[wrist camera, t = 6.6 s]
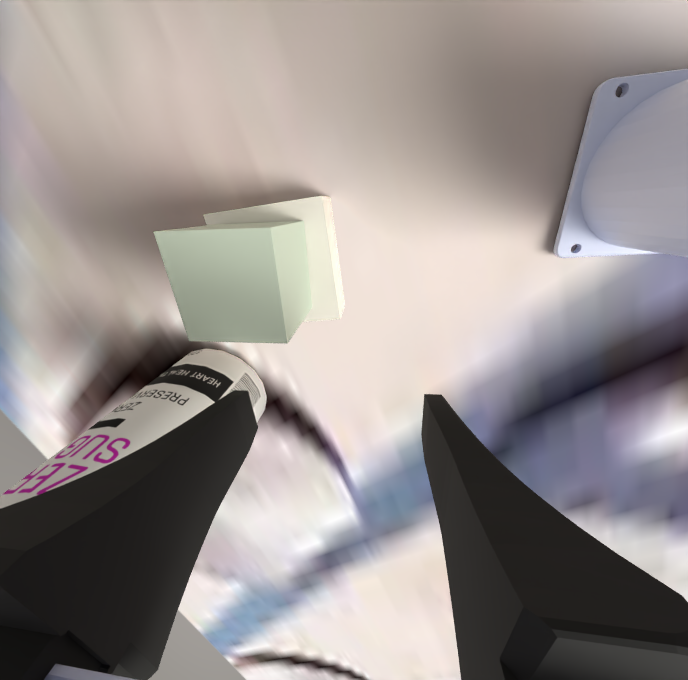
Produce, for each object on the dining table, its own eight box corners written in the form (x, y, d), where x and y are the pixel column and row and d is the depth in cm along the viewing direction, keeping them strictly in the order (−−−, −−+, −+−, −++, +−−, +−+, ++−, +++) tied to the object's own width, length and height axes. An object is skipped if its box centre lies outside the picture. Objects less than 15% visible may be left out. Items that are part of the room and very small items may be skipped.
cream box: (331, 197, 17) (321, 195, 14) (345, 304, 20) (340, 319, 17) (229, 213, 18) (202, 214, 15) (257, 312, 21) (239, 327, 18)
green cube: (303, 220, 15) (270, 227, 10) (312, 307, 17) (287, 343, 13) (219, 223, 15) (153, 231, 11) (237, 306, 18) (189, 341, 13)
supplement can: (237, 433, 27) (92, 660, 13) (166, 380, 25) (-87, 583, 11) (287, 390, 23) (163, 631, 10) (210, 325, 22) (-70, 517, 8)
